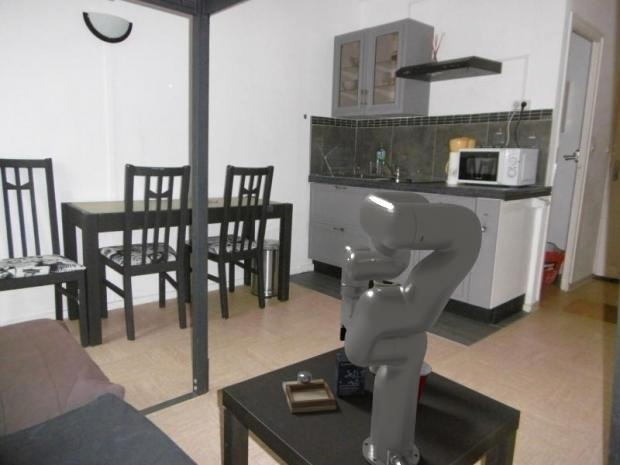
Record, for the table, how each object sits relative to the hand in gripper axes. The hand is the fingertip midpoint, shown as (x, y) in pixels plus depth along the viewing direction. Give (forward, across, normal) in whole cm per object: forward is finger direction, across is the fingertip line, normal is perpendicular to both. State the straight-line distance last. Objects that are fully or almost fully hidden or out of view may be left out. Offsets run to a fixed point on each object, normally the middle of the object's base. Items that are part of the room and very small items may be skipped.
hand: (350, 347), depth 126 cm
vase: (+13, +10, -14) cm, 22 cm away
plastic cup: (+13, -10, -14) cm, 21 cm away
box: (+13, -1, 0) cm, 13 cm away
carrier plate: (+13, -2, +12) cm, 18 cm away
